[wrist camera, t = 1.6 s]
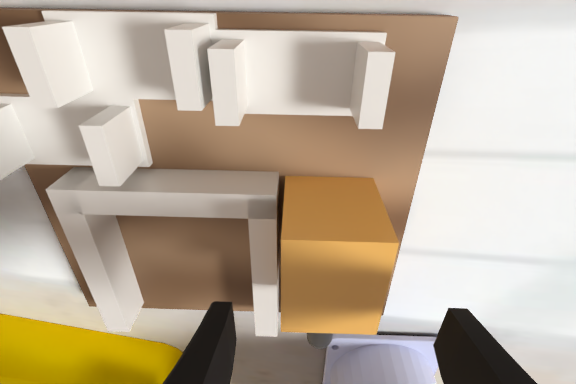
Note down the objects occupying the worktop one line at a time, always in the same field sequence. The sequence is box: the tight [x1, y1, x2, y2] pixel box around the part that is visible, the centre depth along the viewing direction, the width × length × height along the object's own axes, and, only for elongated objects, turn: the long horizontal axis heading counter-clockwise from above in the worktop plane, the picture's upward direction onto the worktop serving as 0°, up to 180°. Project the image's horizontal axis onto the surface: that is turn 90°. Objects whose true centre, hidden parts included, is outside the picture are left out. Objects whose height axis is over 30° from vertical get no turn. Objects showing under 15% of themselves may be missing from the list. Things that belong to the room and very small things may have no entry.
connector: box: [281, 176, 399, 349], centre depth 15 cm, size 9×4×4 cm, turn 179°
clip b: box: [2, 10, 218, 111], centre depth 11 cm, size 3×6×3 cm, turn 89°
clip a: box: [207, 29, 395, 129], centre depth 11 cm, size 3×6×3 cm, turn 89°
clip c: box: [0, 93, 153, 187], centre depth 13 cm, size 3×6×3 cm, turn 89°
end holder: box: [45, 167, 279, 337], centre depth 16 cm, size 9×9×2 cm
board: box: [0, 8, 458, 315], centre depth 16 cm, size 16×18×1 cm
